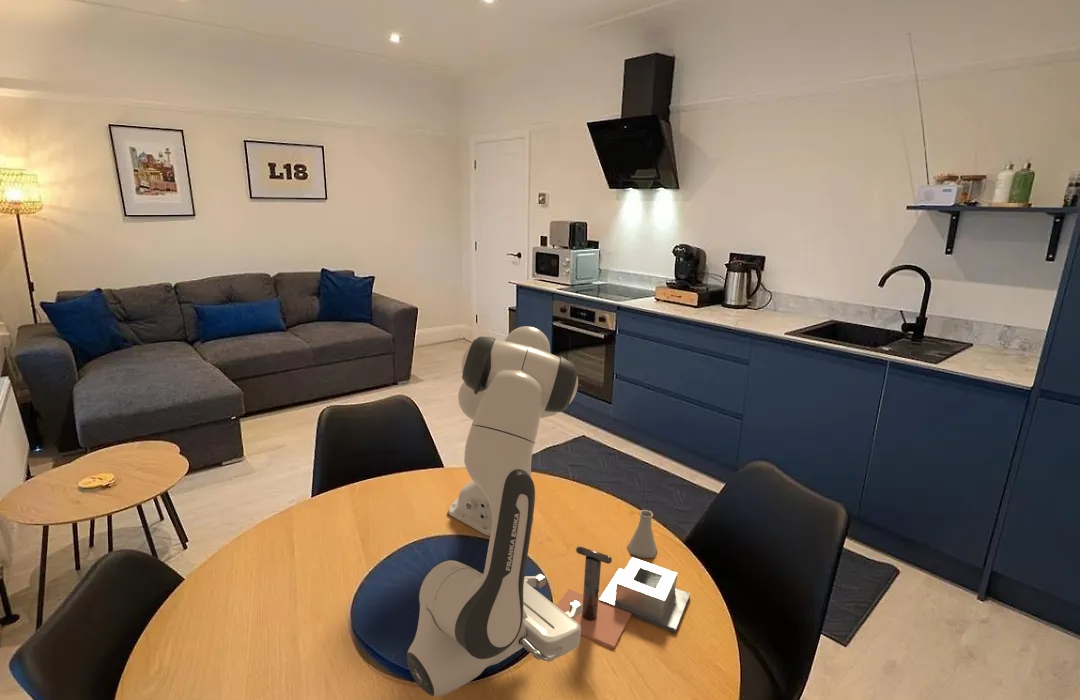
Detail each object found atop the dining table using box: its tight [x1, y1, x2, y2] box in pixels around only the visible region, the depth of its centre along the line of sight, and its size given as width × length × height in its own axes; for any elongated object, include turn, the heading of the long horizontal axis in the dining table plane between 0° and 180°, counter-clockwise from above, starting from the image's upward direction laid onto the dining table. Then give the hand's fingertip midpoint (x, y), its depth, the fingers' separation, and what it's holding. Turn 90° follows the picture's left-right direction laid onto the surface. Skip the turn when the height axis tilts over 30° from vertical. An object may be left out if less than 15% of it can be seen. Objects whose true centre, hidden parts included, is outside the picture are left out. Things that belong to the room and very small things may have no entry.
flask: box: [627, 509, 658, 559], centre depth 131 cm, size 7×7×10 cm
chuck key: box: [575, 545, 613, 621], centre depth 107 cm, size 7×3×14 cm, turn 62°
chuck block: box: [598, 556, 691, 634], centre depth 115 cm, size 16×12×6 cm
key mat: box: [555, 588, 632, 650], centre depth 109 cm, size 14×10×1 cm
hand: (561, 591), depth 100 cm, fingers open, 8 cm apart
